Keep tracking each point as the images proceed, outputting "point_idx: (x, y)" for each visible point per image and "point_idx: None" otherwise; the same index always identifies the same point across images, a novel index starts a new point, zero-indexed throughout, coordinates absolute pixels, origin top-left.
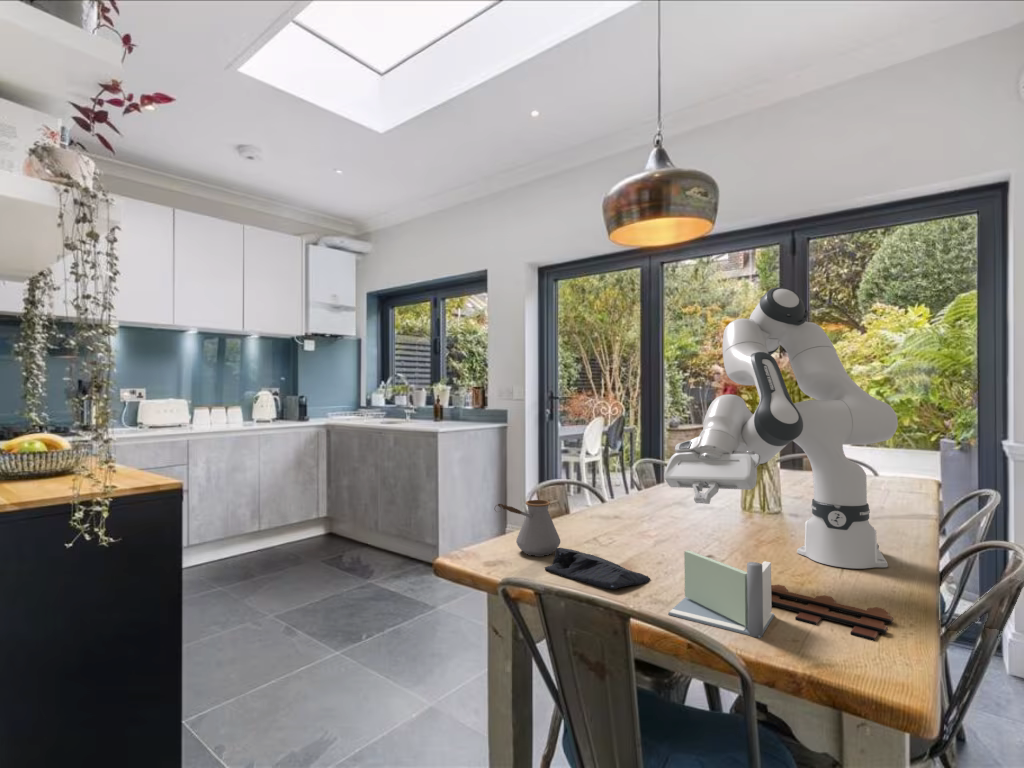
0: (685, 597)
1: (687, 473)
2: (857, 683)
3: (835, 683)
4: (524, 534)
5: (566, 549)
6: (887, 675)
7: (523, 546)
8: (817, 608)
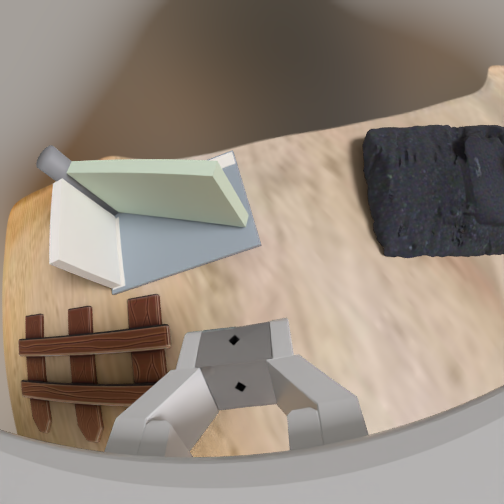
0: (253, 224)
1: (501, 467)
2: (35, 205)
3: (46, 188)
4: None
5: None
6: (19, 242)
7: None
8: (79, 369)
